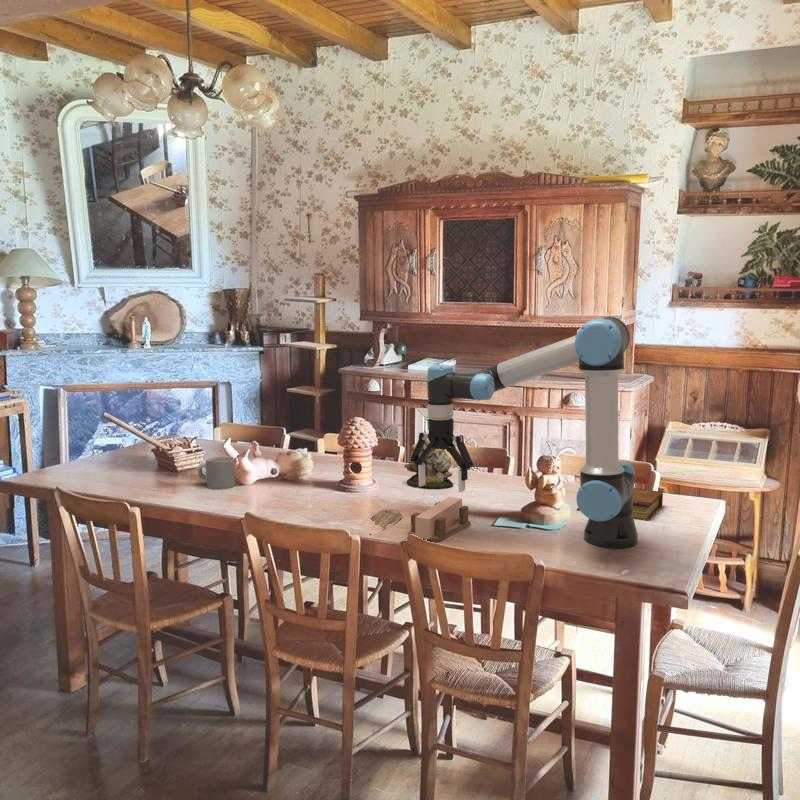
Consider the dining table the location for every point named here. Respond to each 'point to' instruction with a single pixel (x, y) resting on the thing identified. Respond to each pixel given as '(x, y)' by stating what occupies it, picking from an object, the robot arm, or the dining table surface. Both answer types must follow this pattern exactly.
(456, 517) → the clay strip
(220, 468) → the coffee mug
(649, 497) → the diary
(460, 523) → the rack
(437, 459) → the owl figurine
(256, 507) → the dining table surface
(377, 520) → the fish fossil
